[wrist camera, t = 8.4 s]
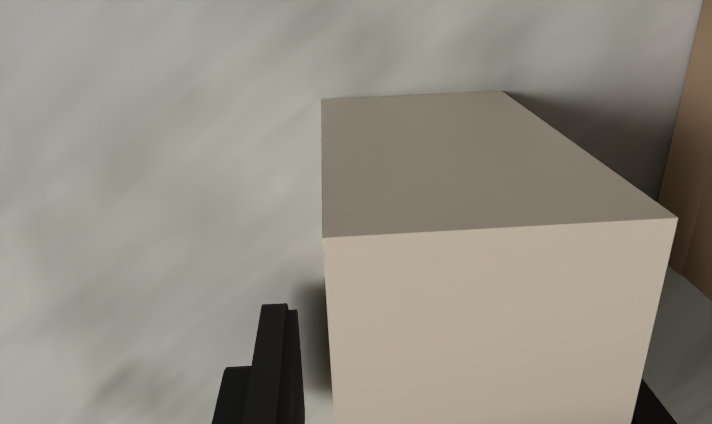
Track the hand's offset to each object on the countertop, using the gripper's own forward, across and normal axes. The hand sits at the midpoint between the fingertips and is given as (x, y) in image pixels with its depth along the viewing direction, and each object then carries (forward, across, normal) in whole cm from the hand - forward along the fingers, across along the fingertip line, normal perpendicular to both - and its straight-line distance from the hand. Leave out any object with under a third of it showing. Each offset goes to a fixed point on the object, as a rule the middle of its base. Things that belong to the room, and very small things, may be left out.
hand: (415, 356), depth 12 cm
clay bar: (+1, 0, +1) cm, 2 cm away
